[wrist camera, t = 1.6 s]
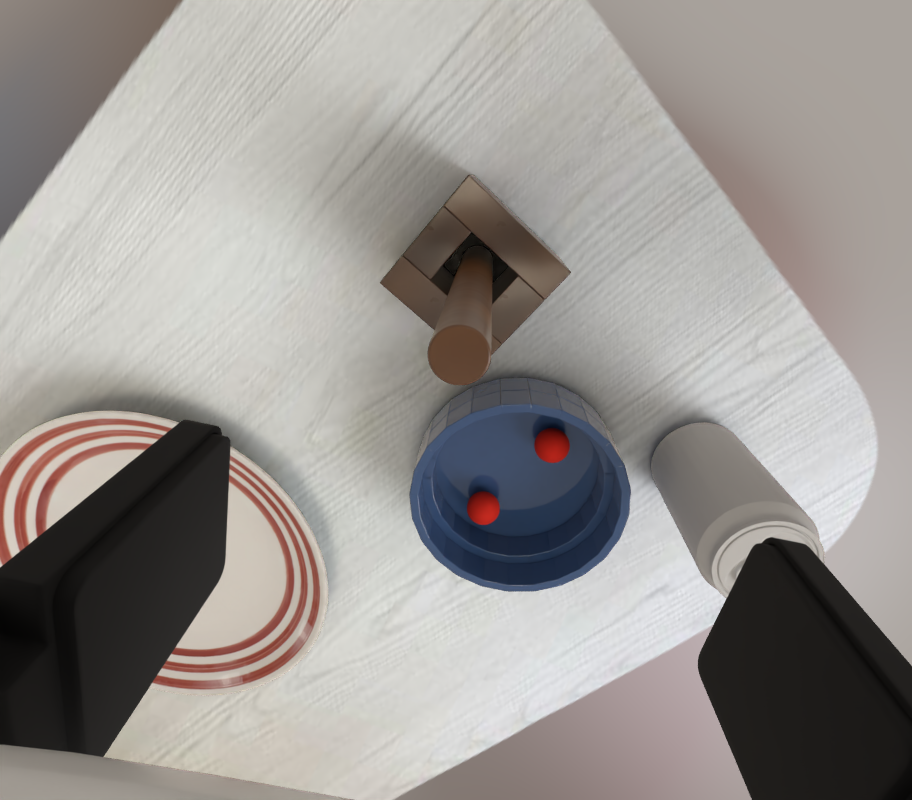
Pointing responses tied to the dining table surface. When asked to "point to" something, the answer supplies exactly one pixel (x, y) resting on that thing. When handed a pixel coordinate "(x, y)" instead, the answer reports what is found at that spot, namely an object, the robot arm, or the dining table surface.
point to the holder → (499, 229)
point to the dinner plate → (247, 548)
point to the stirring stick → (465, 322)
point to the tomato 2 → (552, 445)
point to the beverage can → (724, 501)
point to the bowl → (519, 486)
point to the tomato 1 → (483, 508)
